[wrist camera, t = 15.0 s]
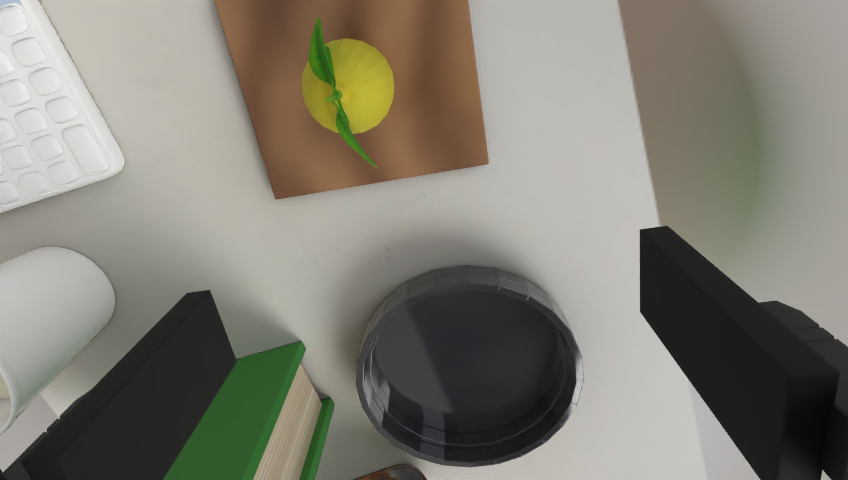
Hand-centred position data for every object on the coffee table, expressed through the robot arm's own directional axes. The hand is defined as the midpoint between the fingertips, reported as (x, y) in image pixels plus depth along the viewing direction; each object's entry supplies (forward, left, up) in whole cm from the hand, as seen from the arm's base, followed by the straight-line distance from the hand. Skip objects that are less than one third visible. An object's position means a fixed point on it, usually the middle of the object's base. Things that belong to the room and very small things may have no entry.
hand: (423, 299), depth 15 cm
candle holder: (+32, +7, -23) cm, 40 cm away
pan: (0, +19, -23) cm, 29 cm away
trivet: (+4, -5, -23) cm, 23 cm away
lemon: (+4, -5, -22) cm, 23 cm away
